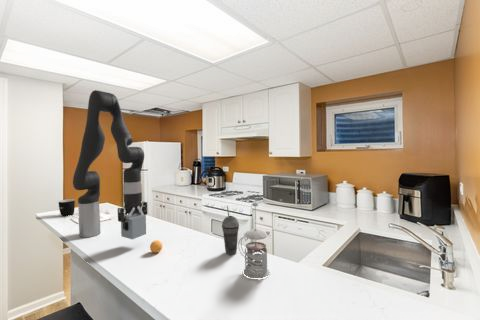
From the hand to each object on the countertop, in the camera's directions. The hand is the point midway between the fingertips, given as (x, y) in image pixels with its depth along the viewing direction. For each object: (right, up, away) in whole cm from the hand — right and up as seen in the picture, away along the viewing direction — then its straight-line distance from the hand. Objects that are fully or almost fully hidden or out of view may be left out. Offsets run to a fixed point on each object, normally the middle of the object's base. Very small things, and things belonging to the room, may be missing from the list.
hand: (133, 227), depth 109 cm
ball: (+12, -7, -6) cm, 15 cm away
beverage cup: (+44, -9, -8) cm, 46 cm away
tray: (-49, -8, +49) cm, 70 cm away
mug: (-69, -8, +56) cm, 89 cm away
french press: (+53, -9, -24) cm, 59 cm away
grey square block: (0, -4, 0) cm, 4 cm away
